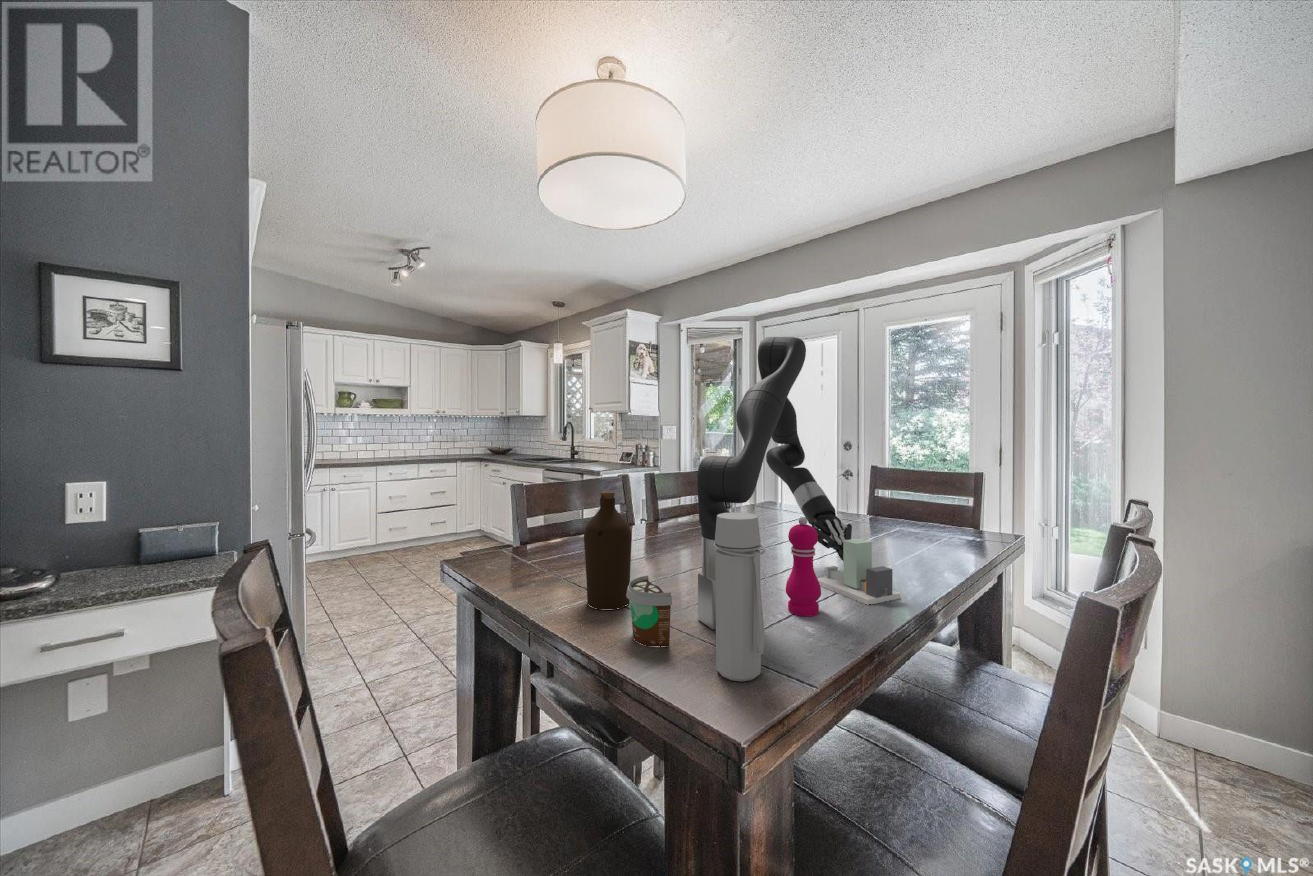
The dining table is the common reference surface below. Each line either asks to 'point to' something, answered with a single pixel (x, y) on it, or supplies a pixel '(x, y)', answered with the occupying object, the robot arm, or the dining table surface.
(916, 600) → the dining table surface
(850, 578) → the sleeve
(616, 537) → the olive oil
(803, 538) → the pepper mill
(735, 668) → the water bottle
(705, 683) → the dining table surface
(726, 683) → the dining table surface
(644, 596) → the food container
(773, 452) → the robot arm
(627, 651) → the dining table surface
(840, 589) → the rail base
